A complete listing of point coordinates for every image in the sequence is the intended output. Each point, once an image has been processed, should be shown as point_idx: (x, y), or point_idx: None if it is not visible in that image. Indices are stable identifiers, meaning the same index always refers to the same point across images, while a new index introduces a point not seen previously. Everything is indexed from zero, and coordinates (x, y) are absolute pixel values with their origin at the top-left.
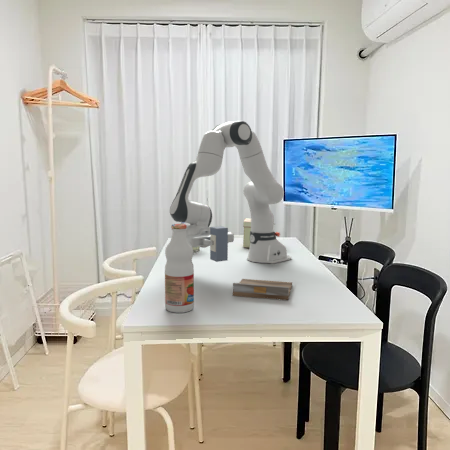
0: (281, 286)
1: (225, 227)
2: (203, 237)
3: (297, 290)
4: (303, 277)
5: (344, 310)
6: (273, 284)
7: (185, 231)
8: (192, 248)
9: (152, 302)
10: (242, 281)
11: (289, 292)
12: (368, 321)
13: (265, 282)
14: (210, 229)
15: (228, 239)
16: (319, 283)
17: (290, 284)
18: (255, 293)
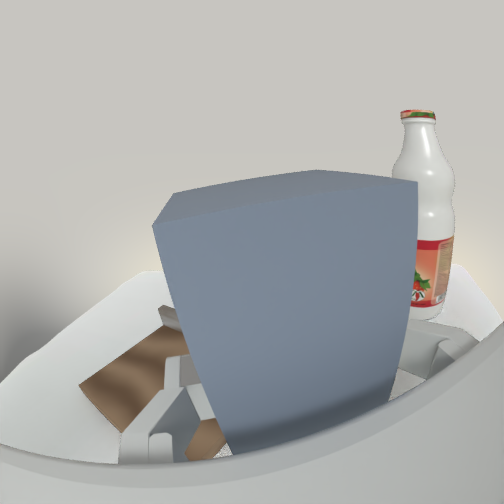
0: (168, 312)
1: (187, 193)
2: (484, 340)
3: (103, 367)
4: (9, 426)
5: (135, 292)
6: (130, 388)
7: (404, 126)
8: (393, 168)
9: (480, 323)
10: (200, 447)
11: (144, 340)
12: (146, 272)
13: (134, 411)
14: (414, 226)
15: (168, 358)
16: (31, 382)
17: (96, 374)
18: None
